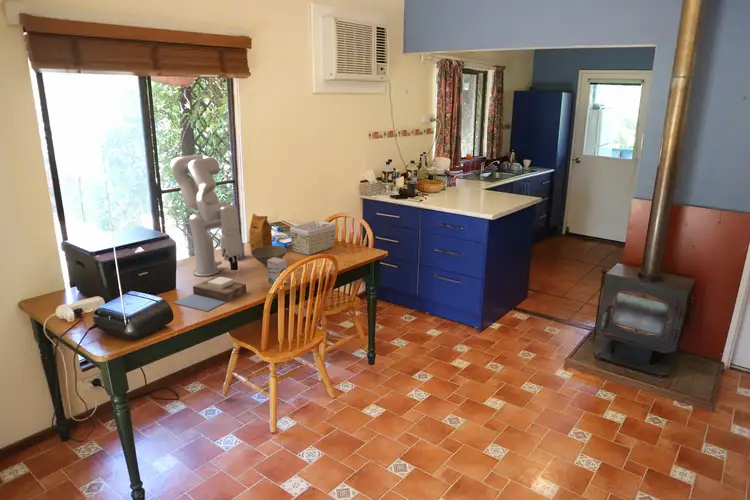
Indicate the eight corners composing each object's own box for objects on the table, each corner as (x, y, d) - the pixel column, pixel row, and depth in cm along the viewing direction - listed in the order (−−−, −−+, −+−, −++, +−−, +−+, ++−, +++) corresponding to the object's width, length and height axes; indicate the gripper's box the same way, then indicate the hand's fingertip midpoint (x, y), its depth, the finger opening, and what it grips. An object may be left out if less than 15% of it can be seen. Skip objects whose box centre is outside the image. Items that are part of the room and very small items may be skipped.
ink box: (268, 282, 253) (266, 259, 250) (275, 279, 257) (273, 256, 254) (280, 285, 249) (279, 262, 245) (288, 282, 253) (286, 259, 249)
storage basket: (317, 242, 319) (317, 219, 315) (337, 247, 310) (337, 223, 306) (289, 252, 301) (288, 227, 297) (309, 257, 292) (308, 231, 287)
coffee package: (260, 248, 309) (258, 211, 302) (275, 251, 301) (272, 214, 295) (247, 252, 301) (244, 215, 295) (261, 256, 294) (259, 218, 287)
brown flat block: (214, 285, 250) (213, 277, 248) (246, 292, 241) (245, 284, 240) (193, 294, 239) (192, 286, 237) (226, 302, 230) (225, 293, 229)
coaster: (220, 280, 245) (220, 276, 244) (233, 283, 241) (233, 279, 240) (208, 286, 238) (207, 281, 237) (221, 288, 234) (220, 284, 234)
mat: (193, 294, 238) (193, 293, 238) (226, 302, 230) (226, 301, 229) (173, 303, 229) (173, 302, 229) (207, 311, 220) (207, 310, 220)
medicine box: (234, 261, 285) (233, 246, 283) (228, 259, 287) (227, 244, 285) (245, 257, 292) (243, 242, 289) (239, 256, 294) (238, 241, 291)
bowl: (269, 272, 267) (268, 257, 265) (244, 266, 277) (243, 251, 274) (294, 262, 282) (293, 248, 279) (269, 257, 291) (268, 243, 289)
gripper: (235, 227, 248) (239, 264, 253) (212, 235, 235) (217, 273, 240) (247, 229, 245) (251, 266, 250) (225, 236, 232) (229, 275, 237)
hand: (234, 269), depth 245 cm, fingers closed
